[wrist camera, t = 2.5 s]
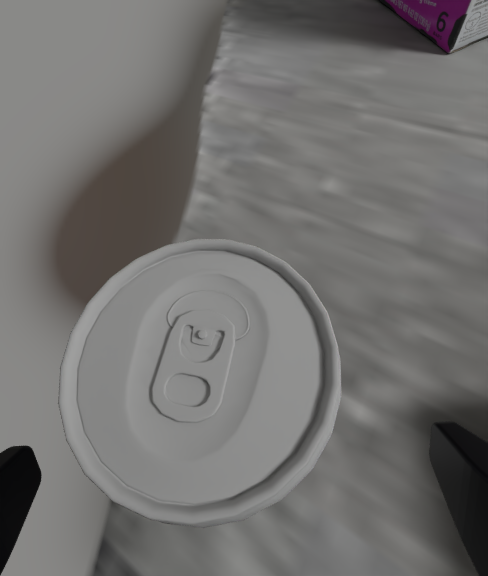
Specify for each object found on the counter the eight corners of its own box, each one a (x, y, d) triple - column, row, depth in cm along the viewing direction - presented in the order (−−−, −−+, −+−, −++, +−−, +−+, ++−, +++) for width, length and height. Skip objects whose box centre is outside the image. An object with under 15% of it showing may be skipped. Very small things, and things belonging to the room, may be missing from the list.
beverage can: (314, 383, 17) (362, 249, 6) (299, 497, 15) (329, 588, 4) (217, 363, 18) (113, 217, 7) (190, 469, 16) (-7, 486, 5)
